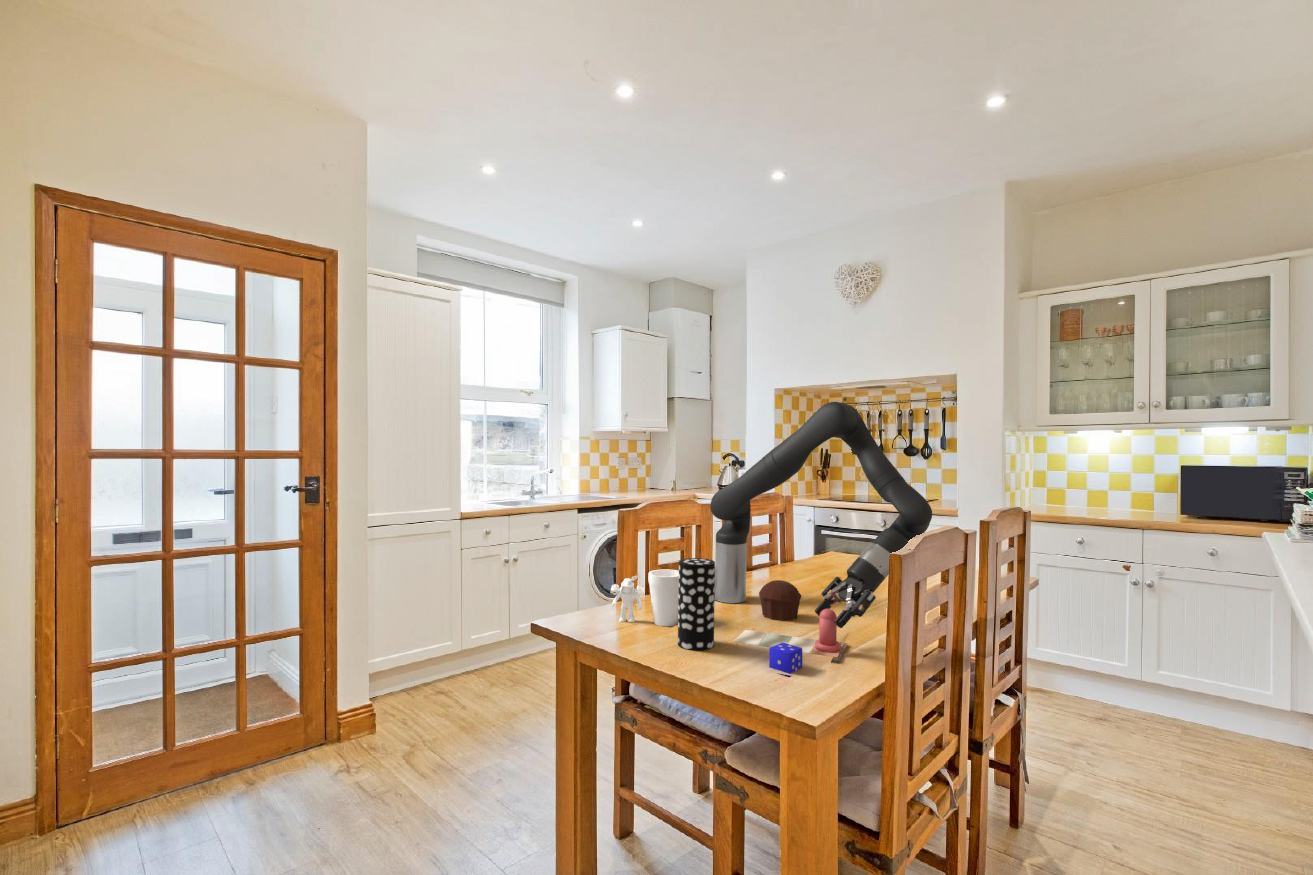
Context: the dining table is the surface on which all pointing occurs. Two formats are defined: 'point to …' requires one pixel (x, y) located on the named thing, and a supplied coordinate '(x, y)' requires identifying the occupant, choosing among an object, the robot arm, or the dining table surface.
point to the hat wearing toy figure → (627, 597)
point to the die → (785, 658)
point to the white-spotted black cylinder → (696, 604)
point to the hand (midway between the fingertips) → (827, 619)
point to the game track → (776, 639)
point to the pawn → (827, 632)
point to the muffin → (780, 600)
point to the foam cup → (664, 596)
